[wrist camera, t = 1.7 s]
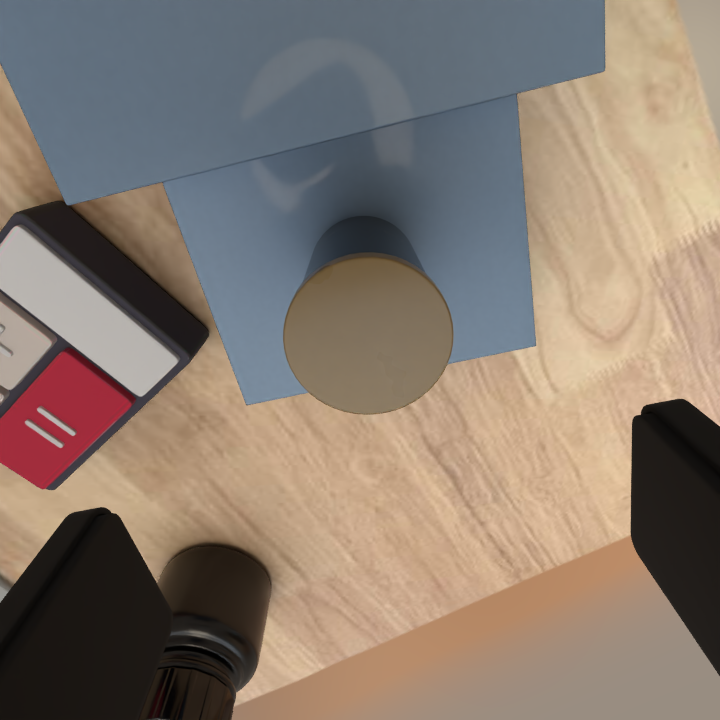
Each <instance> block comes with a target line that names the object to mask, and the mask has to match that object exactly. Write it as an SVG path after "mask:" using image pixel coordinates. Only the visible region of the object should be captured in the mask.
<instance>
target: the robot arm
mask: <svg viewBox="0 0 720 720" xmlns="http://www.w3.org/2000/svg"><path fill="white" fill-rule="evenodd" d="M631 538H632V542H633V545H634V548H635V550H636V552H637V554H638V555H639V557H640V558H641V560H642V561H643V563H644V564H645V566H646V567H647V569H648V570H649V572H650V573H651V575H652V576H653V578H654V579H655V581H656V582H657V584H658V585H659V587H660V588H661V590H662V591H663V593H664V594H665V596H666V597H667V598H668V600H669V601H670V603H671V604H672V606H673V607H674V609H675V610H676V612H677V613H678V615H679V616H680V618H681V619H682V621H683V622H684V623H685V625H686V627H687V628H688V629H689V631H690V632H691V634H692V636H693V637H694V638H695V640H696V642H697V643H698V644H699V646H700V647H701V649H702V650H703V652H704V653H705V655H706V656H707V658H708V659H709V661H710V662H711V664H712V665H713V667H714V668H715V670H716V671H717V673H718V674H719V676H720V426H718V425H717V424H716V423H715V422H713V421H712V420H711V419H710V418H708V417H707V416H706V415H705V414H703V413H702V412H701V411H700V410H698V409H697V408H696V407H694V406H693V405H692V404H691V403H689V402H688V401H686V400H684V399H675V400H670V401H665V402H659V403H654V404H649V405H646V406H644V407H643V409H642V411H641V415H637V416H635V417H634V418H633V422H632V473H631ZM172 627H173V614H172V610H171V608H170V606H169V604H168V603H167V601H166V599H165V597H164V595H163V594H162V592H161V590H160V588H159V586H158V585H157V583H156V581H155V579H154V577H153V576H152V574H151V572H150V570H149V569H148V567H147V565H146V563H145V561H144V560H143V558H142V556H141V554H140V552H139V551H138V549H137V547H136V545H135V543H134V542H133V540H132V538H131V536H130V534H129V533H128V531H127V529H126V527H125V526H124V524H123V522H122V520H121V518H120V517H119V516H118V515H117V514H114V513H111V512H110V510H108V509H107V508H102V507H100V508H95V509H89V510H84V511H79V512H74V513H71V514H69V515H68V516H67V517H66V518H65V519H64V520H63V522H62V523H61V524H60V526H59V527H58V528H57V529H56V531H55V532H54V533H53V535H52V536H51V537H50V539H49V540H48V541H47V543H46V544H45V545H44V546H43V548H42V549H41V550H40V552H39V553H38V554H37V556H36V557H35V558H34V559H33V561H32V562H31V563H30V565H29V566H28V567H27V569H26V570H25V571H24V572H23V574H22V575H21V576H20V578H19V579H18V580H17V582H16V583H15V584H14V586H13V587H12V588H11V589H10V591H9V592H8V593H7V595H6V596H5V597H4V599H3V600H2V601H1V603H0V720H138V719H139V716H140V713H141V711H142V708H143V705H144V703H145V700H146V697H147V695H148V692H149V689H150V687H151V684H152V681H153V679H154V676H155V673H156V671H157V668H158V666H159V663H160V660H161V658H162V655H163V652H164V650H165V647H166V644H167V642H168V639H169V636H170V634H171V631H172Z"/></svg>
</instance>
